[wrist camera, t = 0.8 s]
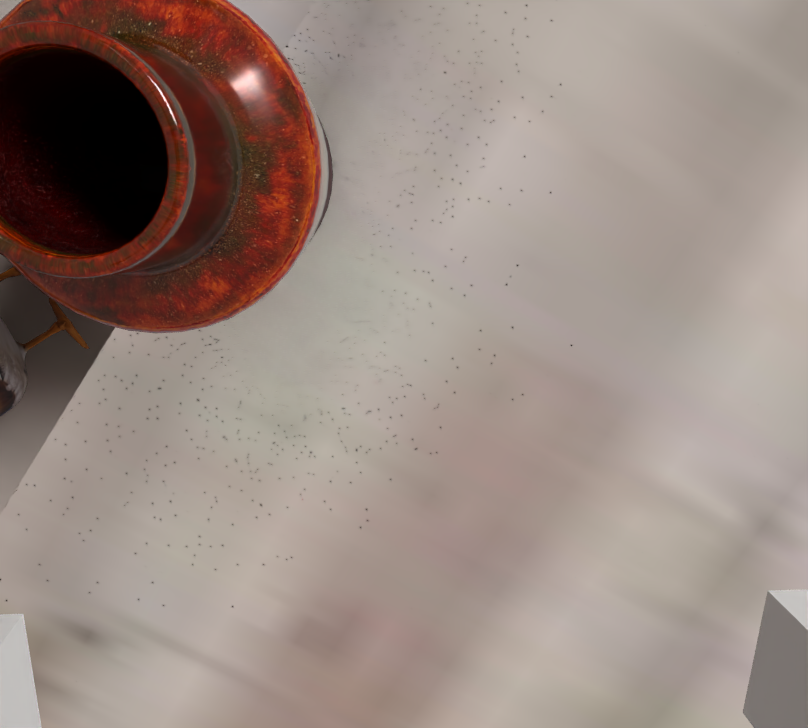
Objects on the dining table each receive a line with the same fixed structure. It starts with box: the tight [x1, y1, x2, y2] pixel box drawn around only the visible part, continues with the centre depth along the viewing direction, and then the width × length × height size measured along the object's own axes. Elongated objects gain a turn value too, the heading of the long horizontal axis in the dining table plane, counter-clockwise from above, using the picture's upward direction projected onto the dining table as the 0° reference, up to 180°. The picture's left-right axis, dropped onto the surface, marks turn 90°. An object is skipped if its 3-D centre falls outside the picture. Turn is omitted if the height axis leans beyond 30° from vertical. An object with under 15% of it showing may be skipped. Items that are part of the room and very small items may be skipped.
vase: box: [0, 0, 333, 333], centre depth 24 cm, size 11×11×20 cm
